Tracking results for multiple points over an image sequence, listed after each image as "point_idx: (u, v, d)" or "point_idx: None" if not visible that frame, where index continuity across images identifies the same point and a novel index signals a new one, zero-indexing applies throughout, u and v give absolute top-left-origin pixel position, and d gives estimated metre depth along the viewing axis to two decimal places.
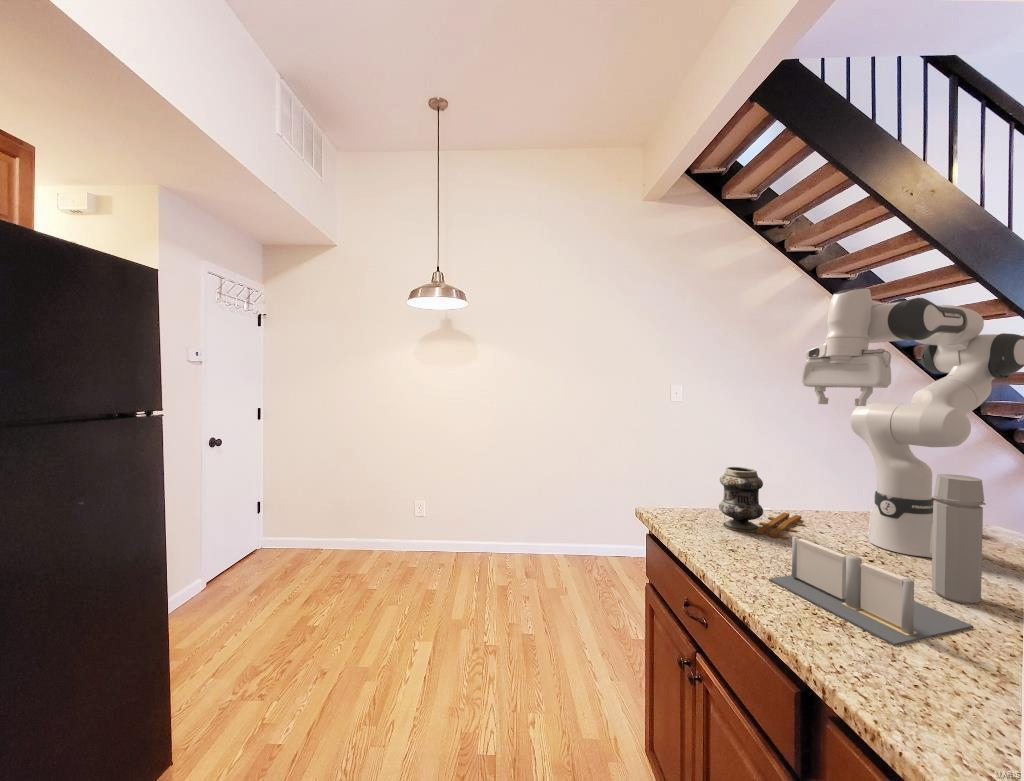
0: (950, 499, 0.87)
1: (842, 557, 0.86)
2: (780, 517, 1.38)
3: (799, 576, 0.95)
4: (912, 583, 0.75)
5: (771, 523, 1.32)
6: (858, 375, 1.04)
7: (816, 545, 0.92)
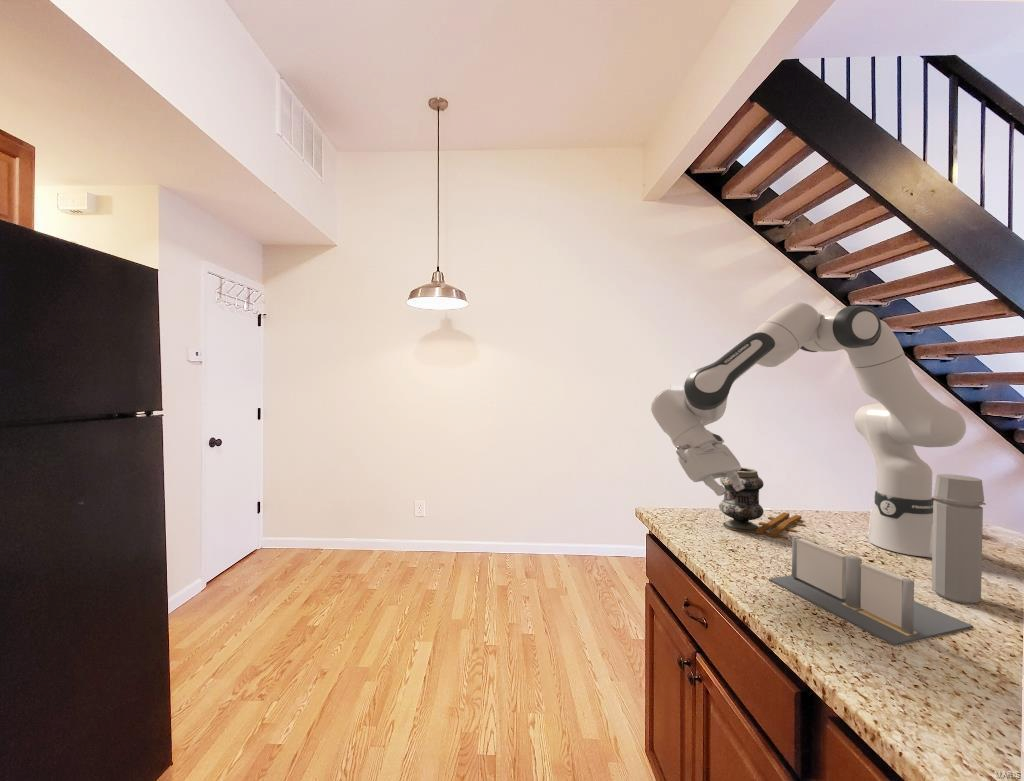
0: (950, 499, 0.87)
1: (842, 557, 0.86)
2: (780, 517, 1.38)
3: (799, 576, 0.95)
4: (912, 583, 0.75)
5: (771, 523, 1.32)
6: None
7: (816, 545, 0.92)
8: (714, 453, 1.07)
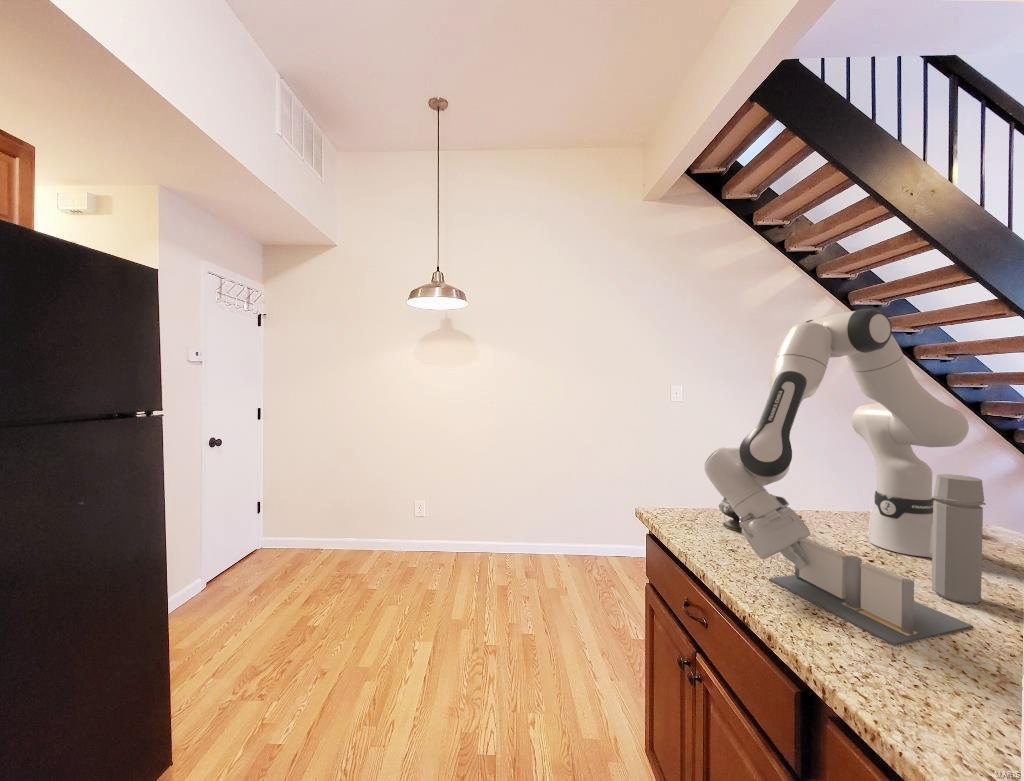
0: (950, 499, 0.87)
1: (842, 557, 0.86)
2: None
3: (802, 576, 0.95)
4: (912, 583, 0.75)
5: None
6: None
7: (818, 545, 0.92)
8: (780, 520, 0.99)
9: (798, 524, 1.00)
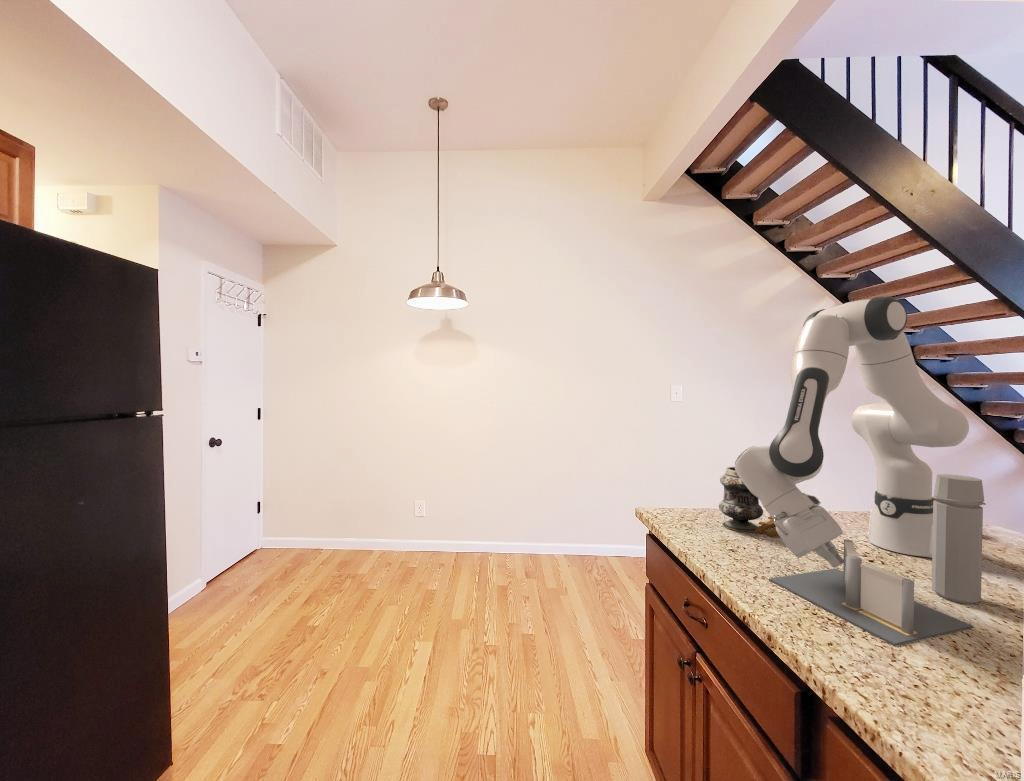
0: (950, 499, 0.87)
1: None
2: None
3: (844, 578, 0.94)
4: (912, 583, 0.75)
5: (770, 522, 1.32)
6: None
7: (850, 547, 0.91)
8: (813, 519, 0.99)
9: (830, 523, 1.01)
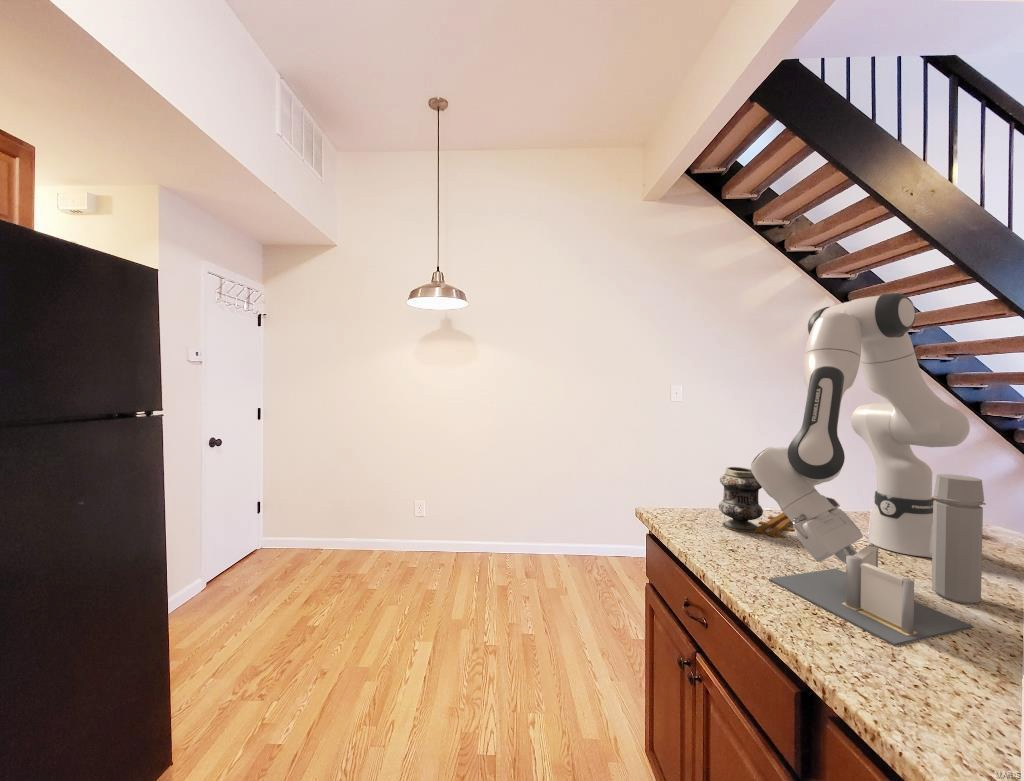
0: (950, 499, 0.87)
1: None
2: (780, 516, 1.38)
3: None
4: (912, 583, 0.75)
5: (770, 522, 1.33)
6: None
7: (866, 550, 0.89)
8: (832, 522, 0.97)
9: (850, 526, 0.98)
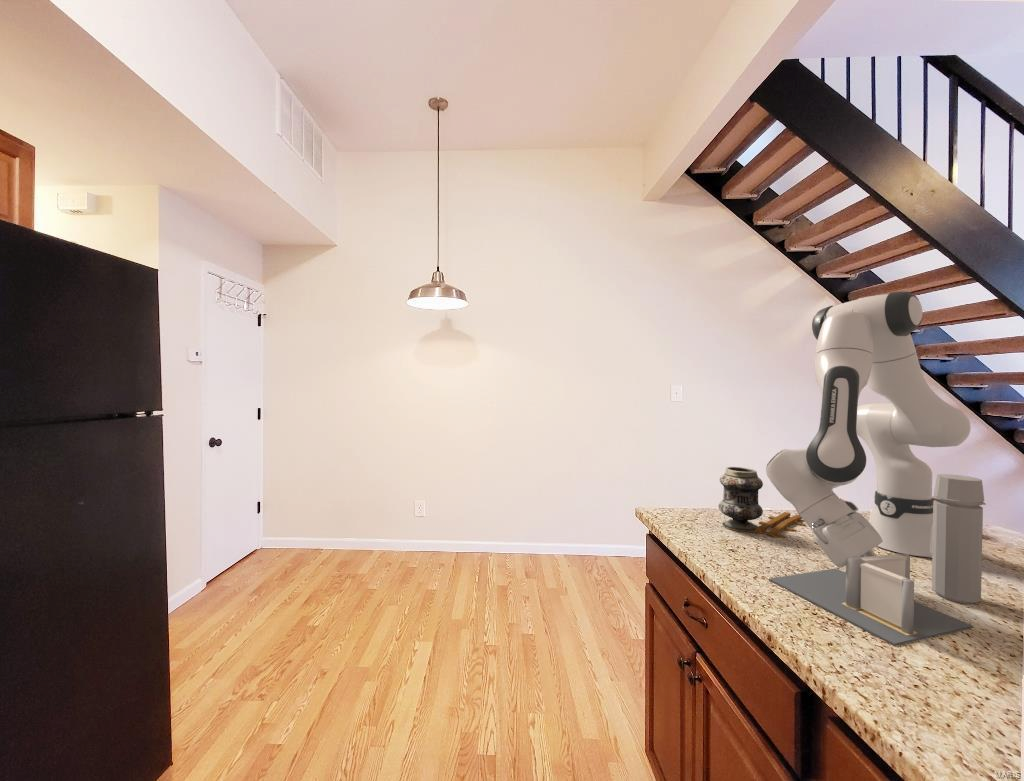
0: (950, 499, 0.87)
1: None
2: (780, 516, 1.38)
3: None
4: (912, 583, 0.75)
5: (770, 522, 1.33)
6: None
7: (886, 557, 0.86)
8: (852, 526, 0.94)
9: (869, 530, 0.96)
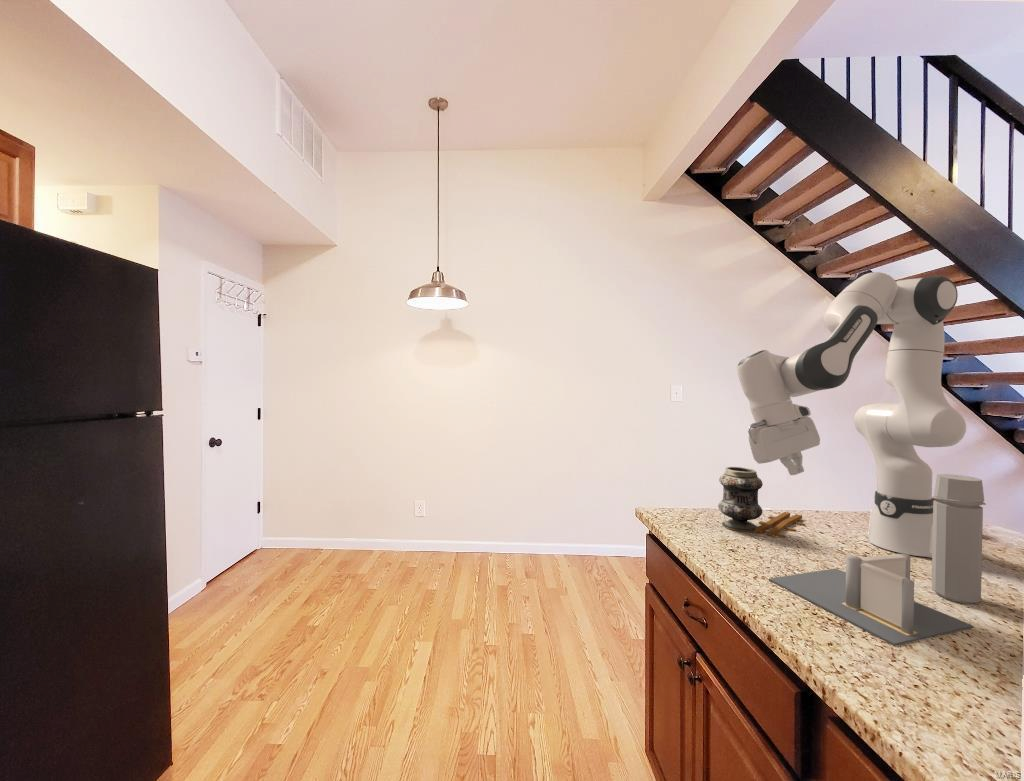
0: (950, 499, 0.87)
1: None
2: (780, 516, 1.38)
3: None
4: (912, 583, 0.75)
5: (770, 522, 1.33)
6: None
7: (886, 557, 0.86)
8: (793, 429, 1.02)
9: (811, 434, 1.03)
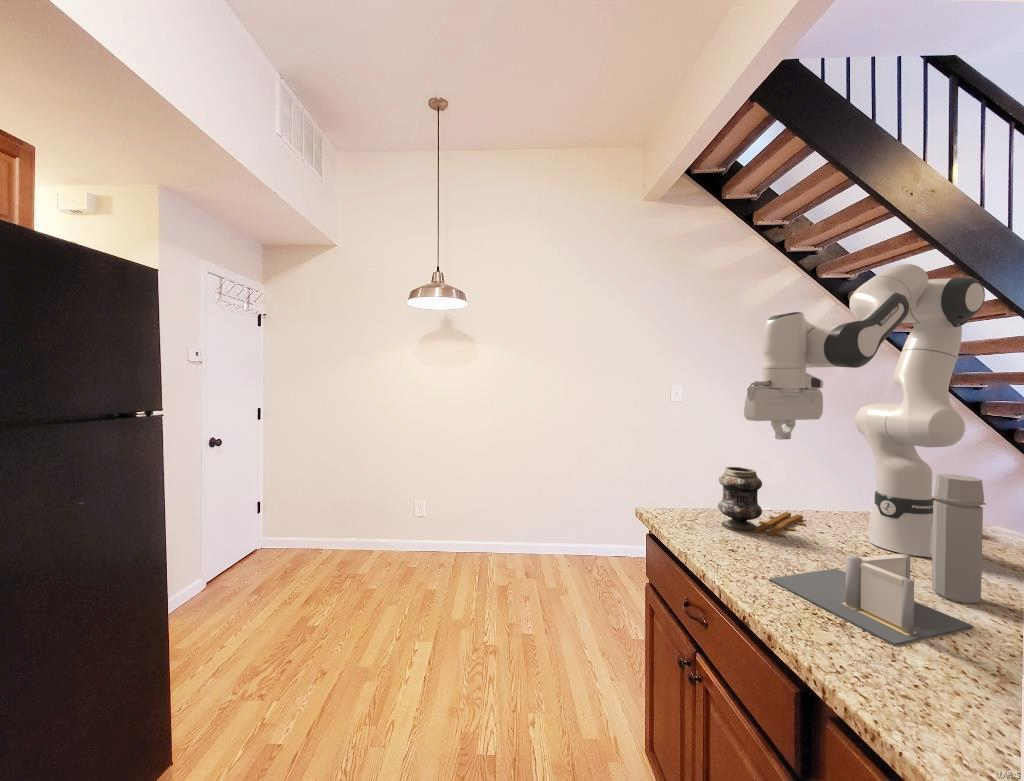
0: (950, 499, 0.87)
1: None
2: (781, 516, 1.38)
3: None
4: (912, 583, 0.75)
5: (770, 522, 1.33)
6: None
7: (886, 557, 0.86)
8: (796, 397, 1.01)
9: (814, 407, 1.02)
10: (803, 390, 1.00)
